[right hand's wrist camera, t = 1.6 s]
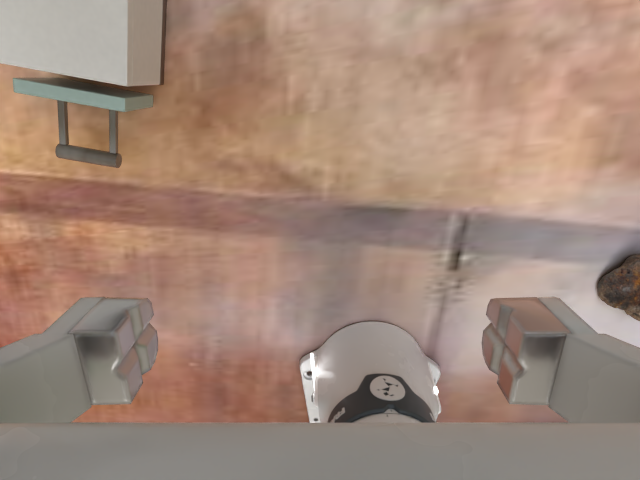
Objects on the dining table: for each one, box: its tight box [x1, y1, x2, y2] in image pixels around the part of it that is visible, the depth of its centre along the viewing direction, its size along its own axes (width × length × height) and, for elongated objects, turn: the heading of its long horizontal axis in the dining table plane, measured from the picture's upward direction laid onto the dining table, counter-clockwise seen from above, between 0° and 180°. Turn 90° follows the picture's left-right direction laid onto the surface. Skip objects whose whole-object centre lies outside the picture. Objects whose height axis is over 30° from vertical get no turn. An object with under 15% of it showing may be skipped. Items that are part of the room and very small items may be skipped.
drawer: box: [13, 78, 153, 168], centre depth 38 cm, size 23×10×7 cm, turn 170°
